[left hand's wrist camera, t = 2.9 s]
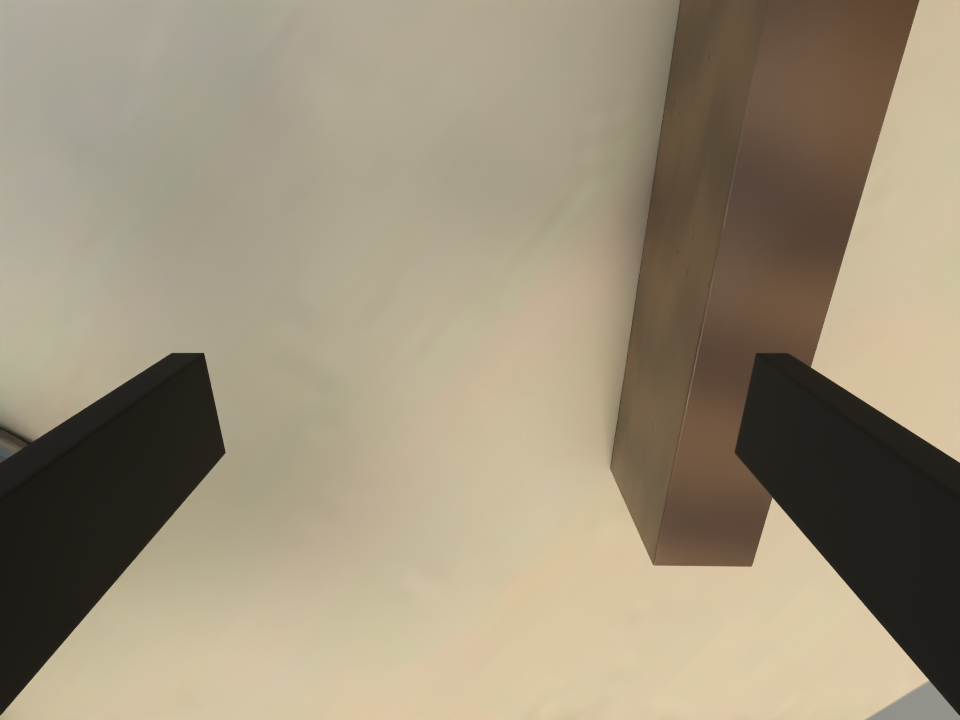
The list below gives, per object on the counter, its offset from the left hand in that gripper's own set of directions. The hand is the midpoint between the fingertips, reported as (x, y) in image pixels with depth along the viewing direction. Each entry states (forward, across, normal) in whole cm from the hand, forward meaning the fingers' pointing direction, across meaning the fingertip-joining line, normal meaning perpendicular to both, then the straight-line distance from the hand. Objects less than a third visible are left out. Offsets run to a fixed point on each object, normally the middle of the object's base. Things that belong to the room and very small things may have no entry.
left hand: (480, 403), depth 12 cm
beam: (+17, -12, -26) cm, 33 cm away
